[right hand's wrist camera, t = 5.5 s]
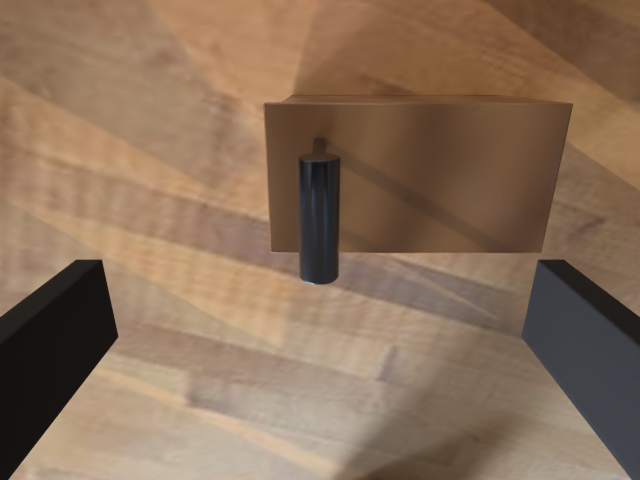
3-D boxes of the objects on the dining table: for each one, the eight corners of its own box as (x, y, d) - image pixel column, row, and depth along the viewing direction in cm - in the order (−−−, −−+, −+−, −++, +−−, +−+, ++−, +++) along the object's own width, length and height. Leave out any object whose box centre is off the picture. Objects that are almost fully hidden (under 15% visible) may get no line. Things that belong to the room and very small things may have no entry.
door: (272, 247, 29) (252, 318, 21) (265, 102, 26) (237, 115, 17) (533, 247, 29) (621, 318, 21) (564, 102, 26) (685, 115, 17)
